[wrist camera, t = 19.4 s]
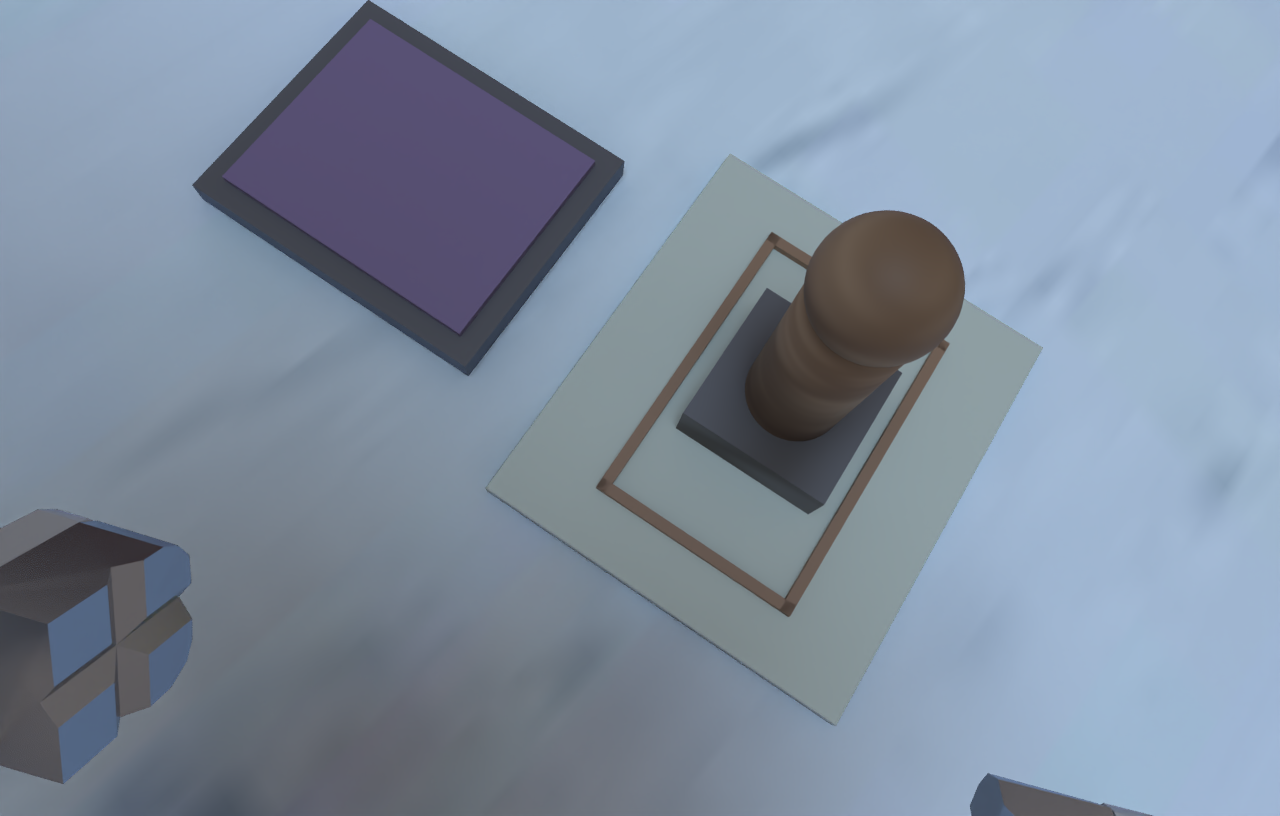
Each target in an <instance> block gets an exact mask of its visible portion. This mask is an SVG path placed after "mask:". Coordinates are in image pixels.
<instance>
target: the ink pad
mask: <svg viewBox="0 0 1280 816" xmlns="http://www.w3.org/2000/svg"><path fill="white" fill-rule="evenodd" d="M623 168H624V161H623V160H622V159H620V158H619V157H617V156H615V155H614V154H612V153H611V152H609V151H607V150H606V149H604V148H603V147H601V146H600V145H598V144H596V143H595V142H593V141H592V140H590V139H588V138H587V137H585V136H584V135H582V134H580V133H579V132H577V131H576V130H574V129H573V128H571V127H569V126H568V125H566V124H565V123H563V122H561V121H560V120H558V119H557V118H555V117H553V116H552V115H550V114H549V113H547V112H546V111H544V110H542V109H541V108H539V107H538V106H536V105H534V104H533V103H531V102H530V101H528V100H526V99H525V98H523V97H522V96H520V95H519V94H517V93H515V92H514V91H512V90H511V89H509V88H507V87H506V86H504V85H503V84H501V83H499V82H498V81H496V80H495V79H493V78H491V77H490V76H488V75H487V74H485V73H484V72H482V71H480V70H479V69H477V68H476V67H474V66H472V65H471V64H469V63H468V62H466V61H464V60H463V59H461V58H460V57H458V56H457V55H455V54H453V53H452V52H450V51H449V50H447V49H445V48H444V47H442V46H441V45H439V44H437V43H436V42H434V41H433V40H431V39H430V38H428V37H426V36H425V35H423V34H422V33H420V32H418V31H417V30H415V29H414V28H412V27H410V26H409V25H407V24H406V23H404V22H403V21H401V20H399V19H398V18H396V17H395V16H393V15H391V14H390V13H388V12H387V11H385V10H383V9H382V8H380V7H379V6H377V5H376V4H374V3H372V2H371V1H369V0H368V1H367V2H366V3H365V4H364V5H363V6H362V7H361V8H360V9H359V10H358V11H357V12H356V13H355V14H354V16H353V17H352V18H351V19H350V20H349V21H348V22H347V23H346V24H345V25H344V26H343V27H342V28H341V29H340V30H339V31H338V32H337V33H336V34H335V36H334V37H333V38H332V39H331V40H330V41H329V42H328V43H327V44H326V45H325V46H324V47H323V48H322V49H321V50H320V51H319V52H318V53H317V54H316V55H315V57H314V58H313V59H312V60H311V61H310V62H309V63H308V64H307V65H306V66H305V67H304V68H303V69H302V70H301V71H300V72H299V73H298V74H297V75H296V77H295V78H294V79H293V80H292V81H291V82H290V83H289V84H288V85H287V86H286V87H285V88H284V89H283V90H282V91H281V92H280V93H279V94H278V95H277V97H276V98H275V99H274V100H273V101H272V102H271V103H270V104H269V105H268V106H267V107H266V108H265V109H264V110H263V111H262V112H261V113H260V114H259V115H258V116H257V118H256V119H255V120H254V121H253V122H252V123H251V124H250V125H249V126H248V127H247V128H246V129H245V130H244V131H243V132H242V133H241V134H240V135H239V136H238V138H237V139H236V140H235V141H234V142H233V143H232V144H231V145H230V146H229V147H228V148H227V149H226V150H225V151H224V152H223V153H222V154H221V155H220V156H219V158H218V159H217V160H216V161H215V162H214V163H213V164H212V165H211V166H210V167H209V168H208V169H207V170H206V171H205V172H204V173H203V174H202V175H201V176H200V177H199V179H198V180H197V181H196V182H195V183H194V184H193V185H192V186H193V187H194V188H195V189H196V191H197V192H198V193H199V195H200V196H201V197H202V198H203V199H204V200H205V201H207V202H208V203H210V204H211V205H213V206H214V207H216V208H217V209H219V210H220V211H222V212H223V213H225V214H226V215H228V216H229V217H231V218H232V219H234V220H235V221H237V222H238V223H240V224H241V225H243V226H244V227H246V228H247V229H249V230H250V231H252V232H253V233H255V234H256V235H258V236H259V237H261V238H262V239H264V240H265V241H267V242H268V243H270V244H271V245H273V246H274V247H276V248H277V249H279V250H280V251H282V252H283V253H285V254H286V255H288V256H289V257H291V258H292V259H294V260H295V261H297V262H298V263H300V264H301V265H303V266H304V267H306V268H307V269H309V270H310V271H312V272H313V273H315V274H316V275H318V276H319V277H321V278H322V279H324V280H325V281H327V282H328V283H330V284H331V285H333V286H334V287H336V288H337V289H339V290H340V291H342V292H343V293H345V294H346V295H348V296H349V297H351V298H352V299H354V300H355V301H357V302H358V303H360V304H361V305H363V306H364V307H366V308H367V309H369V310H370V311H372V312H373V313H375V314H376V315H378V316H379V317H381V318H382V319H384V320H385V321H387V322H388V323H390V324H391V325H393V326H394V327H396V328H397V329H399V330H400V331H402V332H403V333H405V334H406V335H408V336H409V337H411V338H412V339H414V340H415V341H417V342H418V343H420V344H421V345H423V346H424V347H426V348H427V349H429V350H430V351H432V352H433V353H435V354H436V355H438V356H439V357H441V358H442V359H444V360H445V361H447V362H448V363H450V364H451V365H453V366H454V367H456V368H457V369H459V370H460V371H462V372H463V373H465V374H466V375H469V374H470V373H471V372H472V370H473V369H474V368H475V366H476V365H477V364H478V362H479V361H480V360H481V359H482V357H483V356H484V355H485V353H486V352H487V351H488V349H489V348H490V347H491V346H492V344H493V343H494V342H495V340H496V339H497V338H498V336H499V335H500V334H501V333H502V331H503V330H504V329H505V327H506V326H507V325H508V323H509V322H510V321H511V320H512V318H513V317H514V316H515V314H516V313H517V312H518V310H519V309H520V308H521V307H522V305H523V304H524V303H525V301H526V300H527V299H528V297H529V296H530V295H531V294H532V292H533V291H534V290H535V288H536V287H537V286H538V284H539V283H540V282H541V281H542V279H543V278H544V277H545V275H546V274H547V273H548V271H549V270H550V269H551V268H552V266H553V265H554V264H555V262H556V261H557V260H558V258H559V257H560V256H561V255H562V253H563V252H564V251H565V249H566V248H567V247H568V245H569V244H570V243H571V242H572V240H573V239H574V238H575V236H576V235H577V234H578V232H579V231H580V230H581V229H582V227H583V226H584V225H585V223H586V222H587V221H588V219H589V218H590V217H591V216H592V214H593V213H594V212H595V210H596V209H597V208H598V206H599V205H600V204H601V203H602V201H603V200H604V199H605V197H606V196H607V195H608V193H609V192H610V191H611V190H612V188H613V187H614V186H615V184H616V183H617V182H618V180H619V179H620V178H621V177H622V175H623Z"/></svg>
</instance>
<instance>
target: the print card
mask: <svg viewBox="0 0 1280 816" xmlns="http://www.w3.org/2000/svg"><path fill="white" fill-rule="evenodd" d="M841 224H842V223H841V222H840V221H838V220H836V219H835V218H833V217H832V216H830V215H828V214H827V213H825V212H824V211H822V210H820V209H819V208H817V207H815V206H814V205H812V204H811V203H809V202H807V201H806V200H804V199H803V198H801V197H799V196H798V195H796V194H795V193H793V192H791V191H790V190H788V189H786V188H785V187H783V186H782V185H780V184H778V183H777V182H775V181H774V180H772V179H770V178H769V177H767V176H766V175H764V174H762V173H761V172H759V171H758V170H756V169H754V168H753V167H751V166H749V165H748V164H746V163H745V162H743V161H741V160H740V159H738V158H737V157H735V156H733V155H732V154H729V155H728V157H727V158H726V160H725V161H724V162H723V164H722V165H721V166H720V168H719V169H718V170H717V172H716V173H715V175H714V176H713V177H712V179H711V180H710V181H709V183H708V184H707V186H706V187H705V188H704V190H703V191H702V192H701V194H700V195H699V197H698V198H697V199H696V201H695V202H694V203H693V205H692V206H691V207H690V209H689V210H688V212H687V213H686V214H685V216H684V217H683V218H682V220H681V221H680V223H679V224H678V225H677V227H676V228H675V229H674V231H673V232H672V233H671V235H670V236H669V238H668V239H667V240H666V242H665V243H664V244H663V246H662V247H661V249H660V250H659V251H658V253H657V254H656V255H655V257H654V258H653V260H652V261H651V262H650V264H649V265H648V266H647V268H646V269H645V270H644V272H643V273H642V275H641V276H640V277H639V279H638V280H637V281H636V283H635V284H634V286H633V287H632V288H631V290H630V291H629V292H628V294H627V295H626V297H625V298H624V299H623V301H622V302H621V303H620V305H619V306H618V307H617V309H616V310H615V312H614V313H613V314H612V316H611V317H610V318H609V320H608V321H607V323H606V324H605V325H604V327H603V328H602V329H601V331H600V332H599V333H598V335H597V336H596V338H595V339H594V340H593V342H592V343H591V344H590V346H589V347H588V349H587V350H586V351H585V353H584V354H583V355H582V357H581V358H580V360H579V361H578V362H577V364H576V365H575V366H574V368H573V369H572V370H571V372H570V373H569V375H568V376H567V377H566V379H565V380H564V381H563V383H562V384H561V386H560V387H559V388H558V390H557V391H556V392H555V394H554V395H553V396H552V398H551V399H550V401H549V402H548V403H547V405H546V406H545V407H544V409H543V410H542V412H541V413H540V414H539V416H538V417H537V418H536V420H535V421H534V423H533V424H532V425H531V427H530V428H529V429H528V431H527V432H526V433H525V435H524V436H523V438H522V439H521V440H520V442H519V443H518V444H517V446H516V447H515V449H514V450H513V451H512V453H511V454H510V455H509V457H508V458H507V459H506V461H505V462H504V464H503V465H502V466H501V468H500V469H499V470H498V472H497V473H496V475H495V476H494V477H493V479H492V480H491V481H490V483H489V484H488V486H487V487H486V490H487V491H488V492H490V493H491V494H492V495H494V496H495V497H497V498H498V499H500V500H501V501H503V502H504V503H506V504H507V505H509V506H510V507H512V508H513V509H515V510H516V511H518V512H519V513H520V514H522V515H523V516H525V517H526V518H528V519H529V520H531V521H532V522H534V523H535V524H537V525H538V526H540V527H541V528H543V529H544V530H546V531H547V532H548V533H550V534H551V535H553V536H554V537H556V538H557V539H559V540H560V541H562V542H563V543H565V544H566V545H568V546H569V547H571V548H572V549H574V550H575V551H576V552H578V553H579V554H581V555H582V556H584V557H585V558H587V559H588V560H590V561H591V562H593V563H594V564H596V565H597V566H599V567H600V568H602V569H603V570H604V571H606V572H607V573H609V574H610V575H612V576H613V577H615V578H616V579H618V580H619V581H621V582H622V583H624V584H625V585H627V586H628V587H630V588H631V589H632V590H634V591H635V592H637V593H638V594H640V595H641V596H643V597H644V598H646V599H647V600H649V601H650V602H652V603H653V604H655V605H656V606H658V607H659V608H660V609H662V610H663V611H665V612H666V613H668V614H669V615H671V616H672V617H674V618H675V619H677V620H678V621H680V622H681V623H683V624H684V625H686V626H687V627H688V628H690V629H691V630H693V631H694V632H696V633H697V634H699V635H700V636H702V637H703V638H705V639H706V640H708V641H709V642H711V643H712V644H714V645H715V646H716V647H718V648H719V649H721V650H722V651H724V652H725V653H727V654H728V655H730V656H731V657H733V658H734V659H736V660H737V661H739V662H740V663H742V664H743V665H744V666H746V667H747V668H749V669H750V670H752V671H753V672H755V673H756V674H758V675H759V676H761V677H762V678H764V679H765V680H767V681H768V682H770V683H771V684H772V685H774V686H775V687H777V688H778V689H780V690H781V691H783V692H784V693H786V694H787V695H789V696H790V697H792V698H793V699H795V700H796V701H798V702H799V703H801V704H802V705H803V706H805V707H806V708H808V709H809V710H811V711H812V712H814V713H815V714H817V715H818V716H820V717H821V718H823V719H824V720H826V721H827V722H829V723H830V724H831V725H837V723H838V721H839V719H840V717H841V716H842V714H843V712H844V710H845V708H846V707H847V705H848V703H849V701H850V699H851V697H852V696H853V694H854V692H855V690H856V688H857V686H858V685H859V683H860V681H861V679H862V677H863V675H864V674H865V672H866V670H867V668H868V666H869V665H870V663H871V661H872V659H873V657H874V655H875V654H876V652H877V650H878V648H879V646H880V644H881V643H882V641H883V639H884V637H885V635H886V633H887V632H888V630H889V628H890V626H891V624H892V623H893V621H894V619H895V617H896V615H897V613H898V612H899V610H900V608H901V606H902V604H903V602H904V601H905V599H906V597H907V595H908V593H909V591H910V590H911V588H912V586H913V584H914V582H915V581H916V579H917V577H918V575H919V573H920V571H921V570H922V568H923V566H924V564H925V562H926V560H927V559H928V557H929V555H930V553H931V551H932V549H933V548H934V546H935V544H936V542H937V540H938V539H939V537H940V535H941V533H942V531H943V529H944V528H945V526H946V524H947V522H948V520H949V518H950V517H951V515H952V513H953V511H954V509H955V507H956V506H957V504H958V502H959V500H960V498H961V497H962V495H963V493H964V491H965V489H966V487H967V486H968V484H969V482H970V480H971V478H972V476H973V475H974V473H975V471H976V469H977V467H978V465H979V464H980V462H981V460H982V458H983V456H984V455H985V453H986V451H987V449H988V447H989V445H990V444H991V442H992V440H993V438H994V436H995V434H996V433H997V431H998V429H999V427H1000V425H1001V423H1002V422H1003V420H1004V418H1005V416H1006V414H1007V413H1008V411H1009V409H1010V407H1011V405H1012V403H1013V402H1014V400H1015V398H1016V396H1017V394H1018V392H1019V391H1020V389H1021V387H1022V385H1023V383H1024V381H1025V380H1026V378H1027V376H1028V374H1029V372H1030V371H1031V369H1032V367H1033V365H1034V363H1035V361H1036V360H1037V358H1038V356H1039V354H1040V352H1041V350H1042V349H1043V347H1041V346H1039V345H1038V344H1036V343H1034V342H1033V341H1031V340H1030V339H1028V338H1026V337H1025V336H1023V335H1022V334H1020V333H1018V332H1017V331H1015V330H1014V329H1012V328H1010V327H1009V326H1007V325H1005V324H1004V323H1002V322H1001V321H999V320H997V319H996V318H994V317H993V316H991V315H989V314H988V313H986V312H985V311H983V310H981V309H980V308H978V307H977V306H975V305H973V304H972V303H970V302H968V301H967V300H965V299H964V301H963V305H962V309H961V312H960V315H959V317H958V319H957V321H956V323H955V325H954V327H953V329H952V330H951V331H950V333H949V334H948V336H947V337H946V338H945V339H944V340H943V341H942V342H941V343H940V344H939V345H938V346H937V347H936V348H935V349H933V350H932V351H931V352H929V353H928V354H926V355H925V356H923V357H921V358H919V359H917V360H915V361H912V362H910V363H907V364H904V365H903V366H902V367H901V368H899V369H898V370H899V371H900V372H902V375H901V376H900V378H899V380H898V381H897V383H896V385H895V386H894V388H893V390H892V391H891V393H890V395H889V396H888V398H887V400H886V402H885V403H884V405H883V407H882V408H881V410H880V412H879V413H878V415H877V417H876V418H875V420H874V422H873V423H872V425H871V427H870V429H869V430H868V432H867V434H866V435H865V437H864V439H863V440H862V442H861V444H860V445H859V447H858V449H857V451H856V452H855V454H854V456H853V457H852V459H851V461H850V462H849V464H848V466H847V467H846V469H845V471H844V472H843V474H842V476H841V478H840V479H839V481H838V483H837V484H836V486H835V488H834V489H833V491H832V493H831V494H830V496H829V498H828V499H827V501H826V503H825V505H823V506H821V507H820V508H818V509H816V510H815V511H813V512H812V513H810V514H807V513H805V512H804V511H802V510H800V509H799V508H797V507H796V506H794V505H793V504H791V503H790V502H788V501H787V500H785V499H784V498H782V497H781V496H779V495H777V494H776V493H774V492H773V491H771V490H770V489H768V488H767V487H765V486H764V485H762V484H761V483H759V482H758V481H756V480H754V479H753V478H751V477H750V476H748V475H747V474H745V473H744V472H742V471H741V470H739V469H738V468H736V467H735V466H733V465H731V464H730V463H728V462H727V461H725V460H724V459H722V458H721V457H719V456H718V455H716V454H715V453H713V452H711V451H710V450H708V449H707V448H705V447H704V446H702V445H701V444H699V443H698V442H696V441H695V440H693V439H692V438H690V437H688V436H687V435H685V434H684V433H682V432H681V431H679V430H678V429H676V427H677V424H678V422H679V420H680V418H681V416H682V414H683V412H684V411H685V409H686V408H687V406H688V405H689V403H690V402H691V400H692V399H693V397H694V396H695V394H696V393H697V391H698V390H699V388H700V387H701V385H702V384H703V382H704V381H705V379H706V378H707V376H708V375H709V373H710V372H711V370H712V369H713V367H714V366H715V364H716V363H717V361H718V360H719V358H720V357H721V355H722V354H723V352H724V351H725V349H726V348H727V346H728V345H729V343H730V342H731V340H732V339H733V337H734V336H735V334H736V333H737V331H738V330H739V328H740V327H741V325H742V324H743V323H744V321H745V320H746V318H747V317H748V315H749V314H750V312H751V311H752V309H753V308H754V306H755V305H756V303H757V302H758V300H759V299H760V297H761V296H762V294H763V293H764V291H765V290H766V288H768V289H770V290H771V291H773V292H775V293H776V294H778V295H779V296H781V297H782V298H784V299H786V300H787V301H789V302H790V303H792V302H793V300H794V298H795V297H796V295H797V294H798V292H799V291H800V289H801V287H802V286H803V284H804V280H805V275H806V270H807V267H808V265H809V262H810V260H811V258H812V256H813V254H814V252H815V250H816V249H817V247H818V246H819V245H820V243H821V242H822V241H823V240H824V238H825V237H826V236H827V235H828V234H829V233H830V232H831V231H833V230H834V229H835V228H837V227H838V226H839V225H841Z"/></svg>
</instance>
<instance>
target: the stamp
mask: <svg viewBox="0 0 1280 816" xmlns="http://www.w3.org/2000/svg"><path fill="white" fill-rule="evenodd" d="M964 294H965V279H964V271H963V267H962V263H961V261H960V258H959V256H958V254H957V252H956V250H955V248H954V246H953V245H952V244H951V242H950V241H949V239H948V238H947V237H946V236H945V235H944V234H943V233H942V232H941V231H940V230H939V229H938V228H937V227H935V226H934V225H932V224H931V223H930V222H928V221H926V220H924V219H922V218H920V217H917V216H915V215H912V214H909V213H905V212H900V211H889V210H885V211H874V212H869V213H864V214H862V215H859V216H856V217H854V218H851V219H849V220H847V221H845V222H844V223H842V224H841V225H839V226H838V227H837V228H835V229H834V230H833V231H831V232H830V233H829V234H828V235H827V236H826V237H825V238H824V240H823V241H822V242H821V243H820V245H819V246H818V247H817V249H816V250H815V252H814V254H813V256H812V258H811V260H810V262H809V265H808V267H807V270H806V275H805V280H804V284H803V286H802V287H801V289H800V291H799V292H798V294H797V295H796V297H795V298H794V300H793V302H792V303H790V302H789V301H787V300H786V299H784V298H782V297H781V296H779V295H778V294H776V293H775V292H773V291H771V290H770V289H768V288H766V290H765V291H764V293H763V294H762V296H761V297H760V299H759V300H758V302H757V303H756V305H755V306H754V308H753V309H752V311H751V312H750V314H749V315H748V317H747V318H746V320H745V321H744V323H743V324H742V325H741V327H740V328H739V330H738V331H737V333H736V334H735V336H734V337H733V339H732V340H731V342H730V343H729V345H728V346H727V348H726V349H725V351H724V352H723V354H722V355H721V357H720V358H719V360H718V361H717V363H716V364H715V366H714V367H713V369H712V370H711V372H710V373H709V375H708V376H707V378H706V379H705V381H704V382H703V384H702V385H701V387H700V388H699V390H698V391H697V393H696V394H695V396H694V397H693V399H692V400H691V402H690V403H689V405H688V406H687V408H686V409H685V411H684V412H683V414H682V416H681V418H680V420H679V422H678V424H677V427H676V429H678V430H679V431H681V432H682V433H684V434H685V435H687V436H688V437H690V438H692V439H693V440H695V441H696V442H698V443H699V444H701V445H702V446H704V447H705V448H707V449H708V450H710V451H711V452H713V453H715V454H716V455H718V456H719V457H721V458H722V459H724V460H725V461H727V462H728V463H730V464H731V465H733V466H735V467H736V468H738V469H739V470H741V471H742V472H744V473H745V474H747V475H748V476H750V477H751V478H753V479H754V480H756V481H758V482H759V483H761V484H762V485H764V486H765V487H767V488H768V489H770V490H771V491H773V492H774V493H776V494H777V495H779V496H781V497H782V498H784V499H785V500H787V501H788V502H790V503H791V504H793V505H794V506H796V507H797V508H799V509H800V510H802V511H804V512H805V513H807V514H810V513H812V512H813V511H815V510H816V509H818V508H820V507H821V506H823V505H825V503H826V501H827V499H828V498H829V496H830V494H831V493H832V491H833V489H834V488H835V486H836V484H837V483H838V481H839V479H840V478H841V476H842V474H843V472H844V471H845V469H846V467H847V466H848V464H849V462H850V461H851V459H852V457H853V456H854V454H855V452H856V451H857V449H858V447H859V445H860V444H861V442H862V440H863V439H864V437H865V435H866V434H867V432H868V430H869V429H870V427H871V425H872V423H873V422H874V420H875V418H876V417H877V415H878V413H879V412H880V410H881V408H882V407H883V405H884V403H885V402H886V400H887V398H888V396H889V395H890V393H891V391H892V390H893V388H894V386H895V385H896V383H897V381H898V380H899V378H900V376H901V375H902V372H900V371H899V370H898V369H899V368H901V367H902V366H903V365H904V364H907V363H910V362H912V361H915V360H917V359H919V358H921V357H923V356H925V355H926V354H928V353H929V352H931V351H932V350H933V349H935V348H936V347H937V346H938V345H939V344H940V343H941V342H942V341H943V340H944V339H945V338H946V337H947V336H948V334H949V333H950V331H951V330H952V329H953V327H954V325H955V323H956V321H957V319H958V317H959V315H960V312H961V309H962V305H963V301H964Z"/></svg>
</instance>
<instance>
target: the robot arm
mask: <svg viewBox="0 0 1280 816" xmlns="http://www.w3.org/2000/svg"><path fill="white" fill-rule="evenodd" d="M190 584H191V571H190V557H189V555H188V554H187V553H186V552H185V551H184V550H183V549H181V548H180V547H179V546H178V545H175V544H172V543H168V542H165V541H162V540H159V539H155V538H152V537H149V536H146V535H142V534H139V533H136V532H133V531H129V530H126V529H123V528H120V527H116V526H113V525H110V524H106V523H103V522H100V521H93V520H91V519H88V518H85V517H82V516H78V515H75V514H71V513H68V512H65V511H61V510H58V509H40V510H36V511H34V512H32V513H30V514H28V515H26V516H24V517H22V518H20V519H18V520H16V521H14V522H12V523H10V524H9V525H7V526H5V527H3V528H1V529H0V766H3V767H7V768H10V769H14V770H17V771H20V772H24V773H27V774H31V775H34V776H38V777H41V778H44V779H48V780H51V781H55V782H58V783H62V784H64V783H65V782H66V781H67V780H68V779H70V778H71V777H72V776H73V775H74V774H75V773H76V772H77V771H79V770H80V769H81V768H82V767H83V766H84V765H85V764H87V763H88V762H89V761H90V760H91V759H92V758H93V757H94V756H96V755H97V754H98V753H99V752H100V751H101V750H102V749H103V748H105V747H106V746H107V745H108V744H109V743H110V742H111V741H113V740H114V739H115V738H116V737H117V735H118V729H119V722H120V717H122V716H125V715H127V714H130V713H133V712H136V711H139V710H142V709H145V708H148V707H150V706H152V705H153V704H154V703H155V702H156V701H157V700H158V699H159V698H160V697H161V696H162V695H163V694H165V693H166V692H167V691H168V690H169V689H170V688H171V687H172V685H173V684H174V682H175V680H176V678H177V677H178V675H179V673H180V672H181V670H182V668H183V667H184V665H185V663H186V662H187V659H188V655H189V651H190V647H191V643H192V618H191V616H190V614H189V613H188V611H187V610H186V608H185V606H184V605H183V603H182V601H181V600H180V598H179V596H180V595H181V594H182V593H183V592H184V590H185V589H186V588H187V587H188V586H189V585H190ZM970 810H971V816H1152V815H1148V814H1144V813H1141V812H1137V811H1133V810H1129V809H1125V808H1121V807H1117V806H1113V805H1109V804H1105V803H1103V804H1098V803H1094V802H1091V801H1087V800H1084V799H1080V798H1076V797H1073V796H1069V795H1065V794H1062V793H1058V792H1054V791H1051V790H1047V789H1044V788H1040V787H1036V786H1033V785H1029V784H1025V783H1022V782H1018V781H1015V780H1011V779H1007V778H1004V777H1000V776H996V775H993V774H989V773H987V775H986V776H985V777H984V778H983V780H982V781H981V782H980V783H979V785H978V787H977V790H976V792H975V794H974V797H973V799H972V802H971V804H970Z"/></svg>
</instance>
